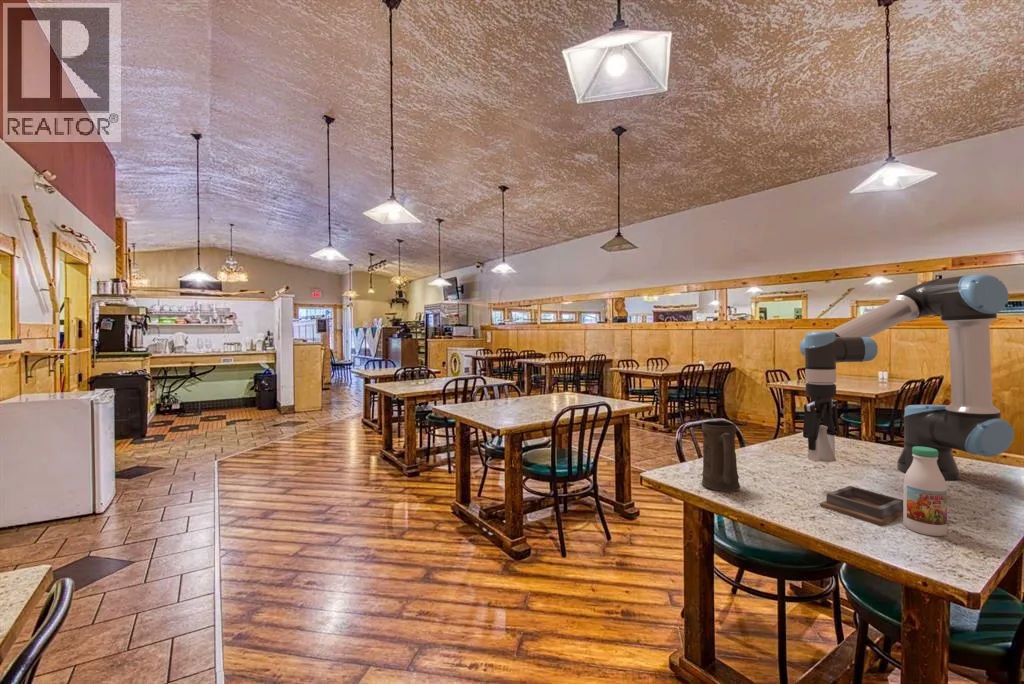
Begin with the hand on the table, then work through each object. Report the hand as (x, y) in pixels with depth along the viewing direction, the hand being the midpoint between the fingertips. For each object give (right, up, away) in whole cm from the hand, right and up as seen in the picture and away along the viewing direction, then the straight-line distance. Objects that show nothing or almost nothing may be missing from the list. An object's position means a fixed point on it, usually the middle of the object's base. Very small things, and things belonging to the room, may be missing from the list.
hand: (821, 458), depth 131 cm
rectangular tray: (+2, -10, -13) cm, 17 cm away
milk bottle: (+7, -11, -25) cm, 28 cm away
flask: (0, 0, 0) cm, 1 cm away
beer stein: (-28, -11, +4) cm, 30 cm away
